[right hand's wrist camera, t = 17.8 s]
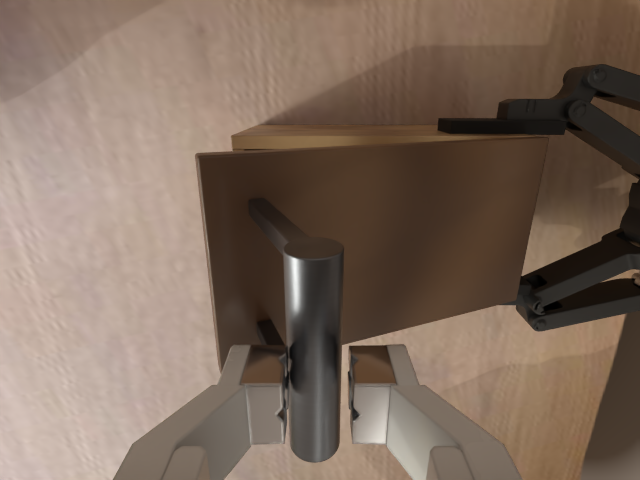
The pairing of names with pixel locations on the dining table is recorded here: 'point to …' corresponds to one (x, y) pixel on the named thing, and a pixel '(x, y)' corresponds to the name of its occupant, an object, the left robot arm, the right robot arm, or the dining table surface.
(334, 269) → the brown panel with handle
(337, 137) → the chest
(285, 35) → the dining table surface
